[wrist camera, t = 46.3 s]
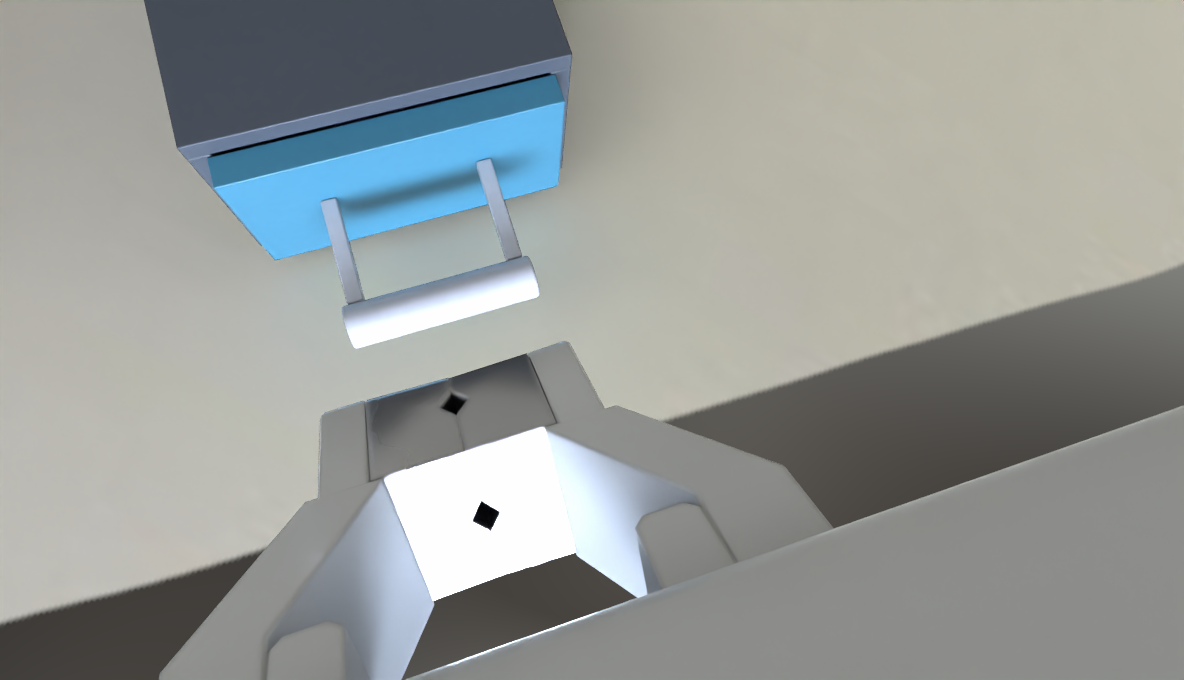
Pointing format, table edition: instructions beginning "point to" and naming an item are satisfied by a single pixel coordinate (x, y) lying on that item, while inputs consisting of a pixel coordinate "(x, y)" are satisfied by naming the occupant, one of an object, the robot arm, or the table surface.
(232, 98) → the drawer cabinet
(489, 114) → the blue drawer
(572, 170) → the table surface
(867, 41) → the table surface
